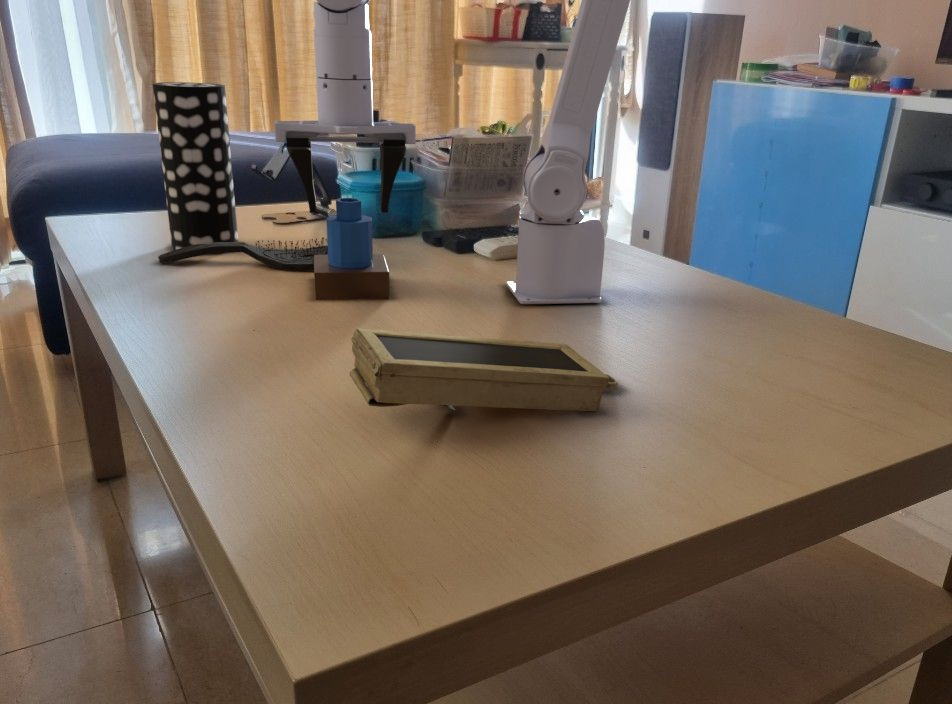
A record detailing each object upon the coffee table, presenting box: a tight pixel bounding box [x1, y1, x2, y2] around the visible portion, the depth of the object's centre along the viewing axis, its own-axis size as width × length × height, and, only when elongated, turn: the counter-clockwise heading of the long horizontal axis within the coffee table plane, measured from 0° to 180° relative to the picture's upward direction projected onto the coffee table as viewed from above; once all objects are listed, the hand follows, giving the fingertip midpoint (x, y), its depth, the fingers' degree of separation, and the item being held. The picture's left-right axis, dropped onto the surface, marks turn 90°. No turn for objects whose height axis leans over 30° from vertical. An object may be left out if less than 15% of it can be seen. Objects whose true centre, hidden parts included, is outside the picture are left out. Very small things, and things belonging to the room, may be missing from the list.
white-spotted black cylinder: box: [152, 81, 239, 255], centre depth 106 cm, size 8×8×20 cm
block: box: [313, 253, 391, 301], centre depth 95 cm, size 8×8×3 cm
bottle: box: [325, 197, 374, 269], centre depth 93 cm, size 5×5×7 cm
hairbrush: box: [157, 236, 328, 272], centre depth 103 cm, size 8×4×25 cm
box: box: [349, 327, 619, 412], centre depth 66 cm, size 8×22×5 cm, turn 114°
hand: (349, 211), depth 92 cm, fingers open, 7 cm apart
